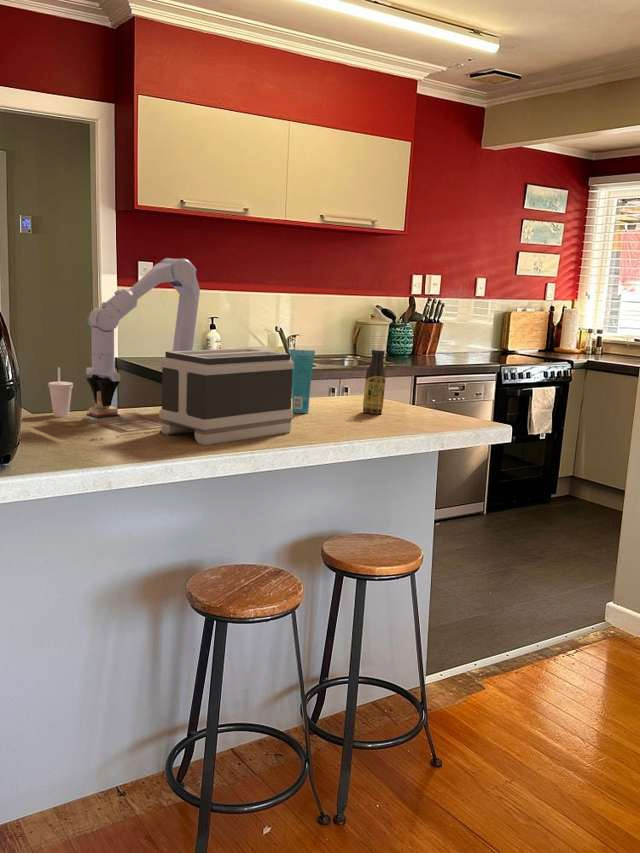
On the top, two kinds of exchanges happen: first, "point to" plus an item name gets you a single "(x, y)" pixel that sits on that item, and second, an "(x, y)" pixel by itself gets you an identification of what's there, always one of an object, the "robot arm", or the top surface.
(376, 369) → the sauce bottle
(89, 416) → the ink pad
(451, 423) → the top surface
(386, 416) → the top surface
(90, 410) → the stamp
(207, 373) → the toaster
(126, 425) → the board
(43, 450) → the top surface
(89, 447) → the top surface
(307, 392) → the tube
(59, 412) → the smoothie
